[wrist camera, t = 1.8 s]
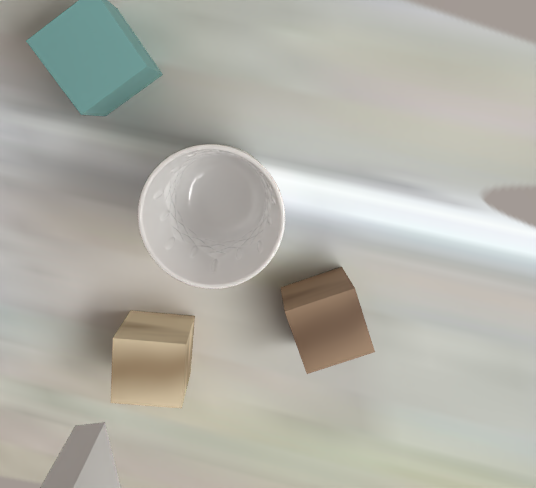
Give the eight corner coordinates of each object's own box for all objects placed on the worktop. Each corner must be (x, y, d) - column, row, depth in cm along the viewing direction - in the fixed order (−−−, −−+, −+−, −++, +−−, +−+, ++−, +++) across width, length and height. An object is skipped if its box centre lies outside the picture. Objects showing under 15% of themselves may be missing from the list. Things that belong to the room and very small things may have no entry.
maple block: (190, 372, 39) (181, 408, 34) (128, 367, 38) (110, 402, 34) (194, 315, 38) (186, 344, 33) (130, 310, 37) (112, 338, 32)
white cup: (229, 265, 36) (220, 316, 27) (147, 197, 35) (107, 226, 25) (298, 188, 35) (315, 212, 26) (216, 115, 34) (201, 111, 24)
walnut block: (359, 322, 38) (374, 351, 33) (300, 342, 38) (307, 373, 34) (341, 266, 37) (354, 288, 32) (280, 286, 37) (284, 311, 32)
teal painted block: (162, 74, 33) (147, 66, 28) (106, 116, 34) (81, 114, 29) (117, 9, 32) (93, -12, 27) (59, 53, 33) (25, 40, 28)
